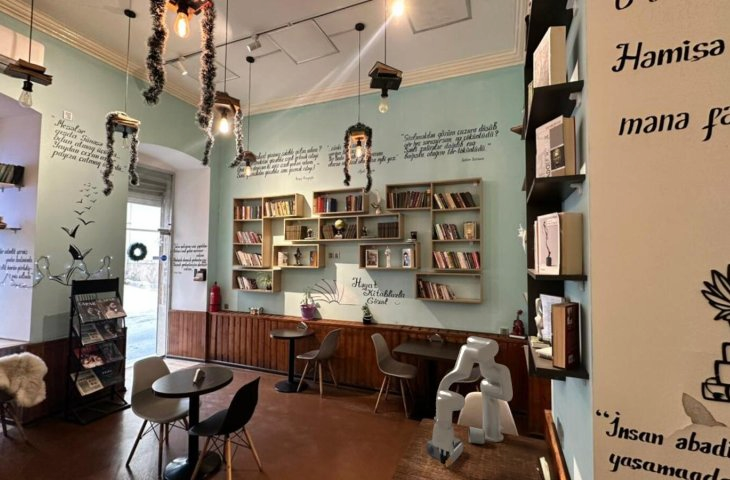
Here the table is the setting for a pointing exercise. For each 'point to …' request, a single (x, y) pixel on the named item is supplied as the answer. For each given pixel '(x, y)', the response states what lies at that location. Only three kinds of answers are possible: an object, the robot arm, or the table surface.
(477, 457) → the table surface
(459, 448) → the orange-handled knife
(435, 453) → the grey control box
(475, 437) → the ceramic mug
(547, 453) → the table surface
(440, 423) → the robot arm
